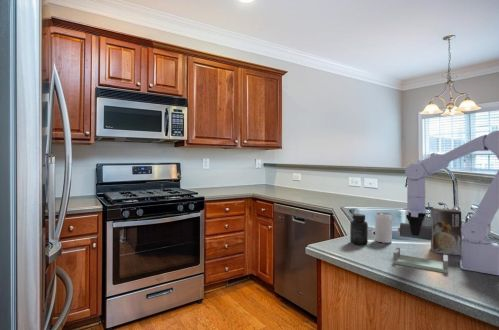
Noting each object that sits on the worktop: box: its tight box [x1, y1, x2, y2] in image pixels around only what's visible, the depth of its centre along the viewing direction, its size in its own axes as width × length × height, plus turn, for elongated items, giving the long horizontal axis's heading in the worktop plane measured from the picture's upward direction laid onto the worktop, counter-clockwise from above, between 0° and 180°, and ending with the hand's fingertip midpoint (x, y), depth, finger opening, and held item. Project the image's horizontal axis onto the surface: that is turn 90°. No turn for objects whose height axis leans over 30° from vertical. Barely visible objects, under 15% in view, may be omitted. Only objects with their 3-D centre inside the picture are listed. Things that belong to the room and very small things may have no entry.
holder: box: [392, 247, 449, 274], centre depth 96 cm, size 15×8×4 cm, turn 56°
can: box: [374, 212, 393, 244], centre depth 123 cm, size 6×6×12 cm
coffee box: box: [430, 207, 463, 256], centre depth 109 cm, size 9×6×16 cm
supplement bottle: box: [349, 213, 369, 247], centre depth 120 cm, size 7×7×12 cm
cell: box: [397, 222, 432, 241], centre depth 105 cm, size 11×5×5 cm, turn 56°
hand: (416, 233), depth 105 cm, fingers closed on cell, 5 cm apart
